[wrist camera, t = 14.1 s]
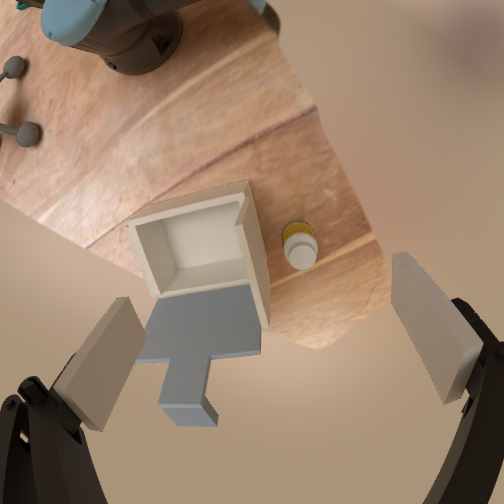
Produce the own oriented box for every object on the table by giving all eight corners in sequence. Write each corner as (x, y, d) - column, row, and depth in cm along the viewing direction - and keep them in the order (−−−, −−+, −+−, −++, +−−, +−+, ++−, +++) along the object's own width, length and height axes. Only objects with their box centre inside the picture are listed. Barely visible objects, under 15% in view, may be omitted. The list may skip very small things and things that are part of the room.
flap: (115, 401, 27) (137, 423, 30) (257, 401, 25) (268, 423, 28) (158, 298, 45) (170, 322, 47) (260, 282, 42) (268, 309, 45)
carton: (147, 205, 50) (79, 254, 30) (253, 178, 47) (240, 216, 27) (171, 273, 55) (125, 348, 35) (271, 255, 52) (270, 334, 32)
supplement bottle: (275, 229, 50) (277, 251, 41) (303, 213, 49) (310, 233, 40) (291, 253, 52) (295, 280, 43) (317, 239, 50) (327, 263, 41)
